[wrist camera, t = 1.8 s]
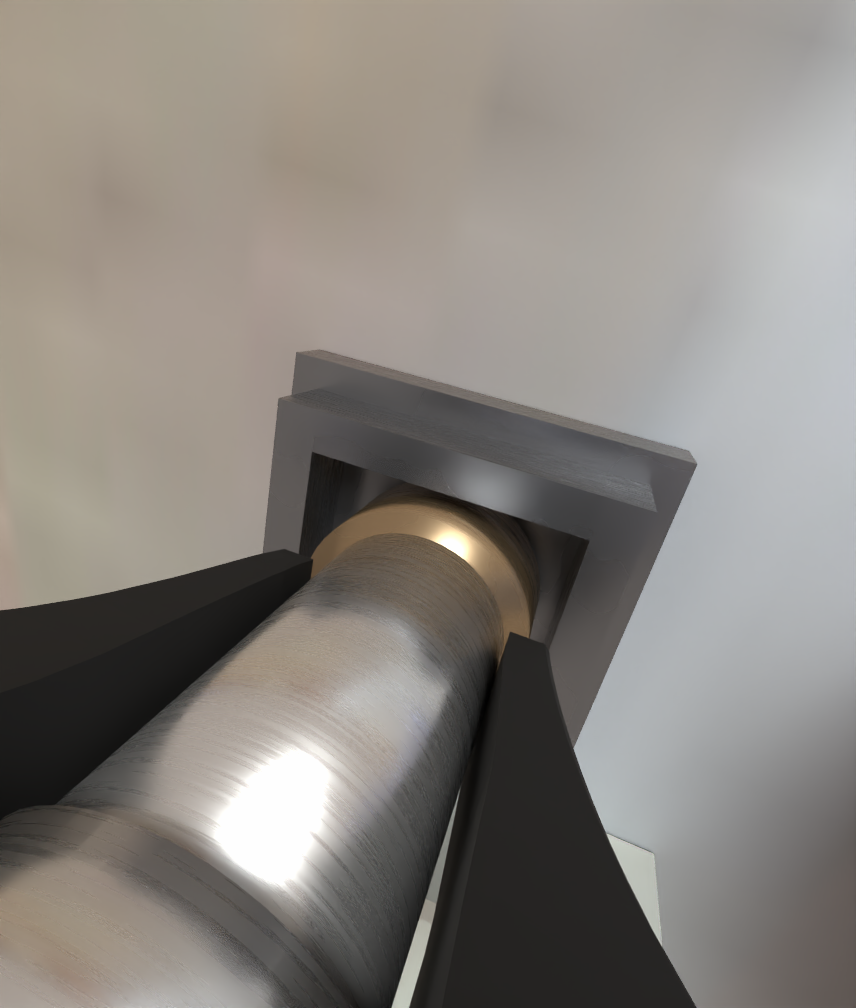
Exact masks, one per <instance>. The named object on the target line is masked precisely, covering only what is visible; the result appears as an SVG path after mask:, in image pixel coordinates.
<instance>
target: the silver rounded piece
mask: <svg viewBox="0 0 856 1008" xmlns="http://www.w3.org/2000/svg"><path fill="white" fill-rule="evenodd" d="M311 559H313V566H312V573H311V579H310V580H309V581H308V582H307V583H306V584H305V585H304V586H303V587H301V588H300V589H299V590H298V591H297V592H296V593H295V594H293V595H292V596H291V597H290V598H289V599H288V600H287V601H286V602H284V603H283V604H282V605H281V606H280V607H279V608H278V609H276V610H275V611H274V612H273V613H272V614H271V615H270V616H268V617H267V618H266V619H265V620H264V621H263V622H262V623H261V624H259V625H258V626H257V627H256V628H255V629H254V630H253V631H251V632H250V633H249V634H248V635H247V636H246V637H245V638H244V639H242V640H241V641H240V642H239V643H238V644H237V645H236V646H234V647H233V648H232V649H231V650H230V651H229V652H228V653H226V654H225V655H224V656H223V657H222V658H221V659H220V660H219V661H217V662H216V663H215V664H214V665H213V666H212V667H211V668H209V669H208V670H207V671H206V672H205V673H204V674H203V675H202V676H200V677H199V678H198V679H197V680H196V681H195V682H194V683H192V684H191V685H190V686H189V687H188V688H187V689H186V690H184V691H183V692H182V693H181V694H180V695H179V696H178V697H177V698H175V699H174V700H173V701H172V702H171V703H170V704H169V705H167V706H166V707H165V708H164V709H163V710H162V711H161V712H160V713H158V714H157V715H156V716H155V717H154V718H153V719H152V720H150V721H149V722H148V723H147V724H146V725H145V726H144V727H142V728H141V729H140V730H139V731H138V732H137V733H136V734H135V735H133V736H132V737H131V738H130V739H129V740H128V741H127V742H125V743H124V744H123V745H122V746H121V747H120V748H119V749H118V750H116V751H115V752H114V753H113V754H112V755H111V756H110V757H108V758H107V759H106V760H105V761H104V762H103V763H102V764H100V765H99V766H98V767H97V768H96V769H95V770H94V771H93V772H91V773H90V774H89V775H88V776H87V777H86V778H85V779H83V780H82V781H81V782H80V783H79V784H78V785H77V786H76V787H74V788H73V789H72V790H71V791H70V792H69V793H68V794H66V795H65V796H64V797H63V798H62V799H61V800H60V801H58V802H57V803H56V804H55V805H39V806H33V807H28V808H24V809H19V810H17V811H15V812H13V813H11V814H9V815H7V816H5V817H4V818H2V819H1V820H0V1008H392V1005H393V1001H394V998H395V995H396V992H397V989H398V985H399V982H400V979H401V976H402V973H403V969H404V966H405V963H406V960H407V957H408V953H409V950H410V947H411V944H412V941H413V937H414V934H415V931H416V928H417V925H418V921H419V918H420V915H421V912H422V909H423V905H424V902H425V899H426V896H427V893H428V889H429V886H430V883H431V880H432V877H433V873H434V870H435V867H436V864H437V861H438V857H439V854H440V851H441V848H442V845H443V841H444V838H445V835H446V832H447V829H448V825H449V822H450V819H451V816H452V813H453V809H454V806H455V803H456V800H457V797H458V793H459V790H460V787H461V784H462V781H463V777H464V774H465V771H466V768H467V765H468V761H469V758H470V755H471V752H472V749H473V745H474V742H475V739H476V736H477V733H478V729H479V726H480V723H481V720H482V717H483V713H484V710H485V707H486V704H487V701H488V697H489V694H490V691H491V688H492V685H493V681H494V678H495V675H496V672H497V669H498V666H499V663H500V660H501V657H502V654H503V651H504V648H505V645H506V642H507V639H508V636H509V633H510V632H513V633H516V634H518V635H521V636H524V637H527V638H529V639H530V635H531V631H532V626H533V622H534V618H535V614H536V610H537V606H538V602H539V594H540V574H539V568H538V563H537V560H536V557H535V554H534V551H533V548H532V546H531V544H530V542H529V540H528V538H527V536H526V535H525V533H524V532H523V530H522V529H521V527H520V526H519V525H518V523H517V522H516V521H515V520H514V519H513V517H512V516H511V515H509V514H505V513H502V512H499V511H496V510H493V509H490V508H487V507H484V506H480V505H477V504H474V503H471V502H468V501H465V500H462V499H458V498H455V497H452V496H449V495H446V494H443V493H440V492H437V491H433V490H430V489H427V488H424V487H421V486H418V485H415V484H412V483H404V484H400V485H397V486H395V487H393V488H391V489H388V490H386V491H385V492H383V493H382V494H380V495H379V496H377V497H376V498H374V499H373V500H372V501H371V502H369V503H368V504H367V505H365V506H364V507H363V508H362V509H360V510H359V511H358V512H356V513H355V514H354V515H353V516H351V517H350V518H349V519H347V520H346V521H345V522H344V523H342V524H341V525H340V526H338V527H337V528H336V529H334V530H333V531H332V532H331V533H330V534H329V535H328V536H326V537H325V538H324V540H323V541H322V542H321V543H320V544H319V546H318V547H317V548H316V550H315V551H314V553H313V555H312V557H311Z"/></svg>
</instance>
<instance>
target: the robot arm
mask: <svg viewBox="0 0 856 1008" xmlns="http://www.w3.org/2000/svg"><path fill="white" fill-rule="evenodd" d="M312 566H313V559H311V558H308V557H305V556H303V555H300V554H297V553H295V552H292V551H289V550H286V549H281V550H276V551H271V552H267V553H263V554H259V555H255V556H251V557H247V558H244V559H240V560H236V561H233V562H229V563H226V564H222V565H218V566H215V567H211V568H207V569H204V570H200V571H196V572H193V573H189V574H185V575H181V576H178V577H174V578H170V579H165V580H161V581H157V582H153V583H148V584H144V585H140V586H136V587H131V588H127V589H123V590H118V591H114V592H110V593H105V594H100V595H95V596H90V597H85V598H79V599H74V600H68V601H62V602H56V603H50V604H43V605H37V606H31V607H24V608H17V609H10V610H1V611H0V820H1V819H2V818H4V817H5V816H7V815H9V814H11V813H13V812H15V811H17V810H19V809H24V808H28V807H33V806H39V805H55V804H56V803H57V802H58V801H60V800H61V799H62V798H63V797H64V796H65V795H66V794H68V793H69V792H70V791H71V790H72V789H73V788H74V787H76V786H77V785H78V784H79V783H80V782H81V781H82V780H83V779H85V778H86V777H87V776H88V775H89V774H90V773H91V772H93V771H94V770H95V769H96V768H97V767H98V766H99V765H100V764H102V763H103V762H104V761H105V760H106V759H107V758H108V757H110V756H111V755H112V754H113V753H114V752H115V751H116V750H118V749H119V748H120V747H121V746H122V745H123V744H124V743H125V742H127V741H128V740H129V739H130V738H131V737H132V736H133V735H135V734H136V733H137V732H138V731H139V730H140V729H141V728H142V727H144V726H145V725H146V724H147V723H148V722H149V721H150V720H152V719H153V718H154V717H155V716H156V715H157V714H158V713H160V712H161V711H162V710H163V709H164V708H165V707H166V706H167V705H169V704H170V703H171V702H172V701H173V700H174V699H175V698H177V697H178V696H179V695H180V694H181V693H182V692H183V691H184V690H186V689H187V688H188V687H189V686H190V685H191V684H192V683H194V682H195V681H196V680H197V679H198V678H199V677H200V676H202V675H203V674H204V673H205V672H206V671H207V670H208V669H209V668H211V667H212V666H213V665H214V664H215V663H216V662H217V661H219V660H220V659H221V658H222V657H223V656H224V655H225V654H226V653H228V652H229V651H230V650H231V649H232V648H233V647H234V646H236V645H237V644H238V643H239V642H240V641H241V640H242V639H244V638H245V637H246V636H247V635H248V634H249V633H250V632H251V631H253V630H254V629H255V628H256V627H257V626H258V625H259V624H261V623H262V622H263V621H264V620H265V619H266V618H267V617H268V616H270V615H271V614H272V613H273V612H274V611H275V610H276V609H278V608H279V607H280V606H281V605H282V604H283V603H284V602H286V601H287V600H288V599H289V598H290V597H291V596H292V595H293V594H295V593H296V592H297V591H298V590H299V589H300V588H301V587H303V586H304V585H305V584H306V583H307V582H308V581H309V580H310V579H311V573H312ZM409 1008H696V1006H695V1004H694V1002H693V1001H692V999H691V997H690V995H689V994H688V992H687V990H686V988H685V986H684V985H683V983H682V981H681V979H680V978H679V976H678V974H677V972H676V971H675V969H674V967H673V965H672V964H671V962H670V960H669V958H668V956H667V955H666V953H665V951H664V949H663V948H662V946H661V944H660V942H659V941H658V939H657V937H656V935H655V933H654V931H653V930H652V928H651V926H650V924H649V922H648V920H647V918H646V916H645V914H644V912H643V910H642V908H641V906H640V904H639V902H638V900H637V898H636V896H635V894H634V892H633V890H632V888H631V886H630V884H629V882H628V880H627V878H626V876H625V874H624V872H623V869H622V867H621V865H620V863H619V861H618V859H617V857H616V854H615V852H614V850H613V848H612V846H611V844H610V841H609V839H608V837H607V835H606V832H605V830H604V828H603V825H602V823H601V821H600V818H599V816H598V813H597V811H596V808H595V806H594V804H593V801H592V798H591V796H590V793H589V791H588V788H587V785H586V783H585V780H584V777H583V775H582V772H581V769H580V766H579V764H578V761H577V758H576V755H575V752H574V749H573V746H572V743H571V739H570V736H569V733H568V730H567V727H566V723H565V720H564V717H563V713H562V710H561V706H560V703H559V699H558V694H557V690H556V686H555V682H554V677H553V672H552V667H551V661H550V653H549V651H548V649H547V647H546V645H545V644H543V643H540V642H538V641H535V640H532V639H529V638H527V637H524V636H521V635H518V634H516V633H513V632H510V633H509V636H508V639H507V642H506V645H505V648H504V651H503V654H502V657H501V660H500V663H499V666H498V669H497V672H496V675H495V678H494V681H493V685H492V688H491V691H490V694H489V697H488V701H487V704H486V707H485V710H484V713H483V717H482V720H481V723H480V726H479V729H478V733H477V736H476V739H475V742H474V745H473V749H472V752H471V755H470V758H469V761H468V765H467V768H466V771H465V774H464V777H463V781H462V784H461V788H460V793H459V797H458V802H457V807H456V812H455V817H454V821H453V826H452V831H451V836H450V841H449V845H448V850H447V855H446V860H445V865H444V869H443V874H442V879H441V884H440V889H439V894H438V898H437V903H436V908H435V913H434V918H433V922H432V926H431V930H430V934H429V938H428V942H427V946H426V950H425V954H424V958H423V961H422V965H421V968H420V972H419V975H418V978H417V982H416V985H415V989H414V992H413V996H412V999H411V1002H410V1006H409Z"/></svg>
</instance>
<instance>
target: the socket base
mask: <svg viewBox="0 0 856 1008" xmlns="http://www.w3.org/2000/svg"><path fill="white" fill-rule="evenodd" d="M696 466H697V463H696V461H695V460H694V458H693V456H692V455H691V453H690V452H689V451H687V450H683V449H679V448H676V447H672V446H669V445H665V444H661V443H658V442H654V441H650V440H647V439H643V438H639V437H636V436H632V435H628V434H625V433H621V432H618V431H614V430H610V429H607V428H603V427H599V426H596V425H592V424H588V423H585V422H581V421H578V420H574V419H570V418H567V417H563V416H559V415H556V414H552V413H548V412H545V411H541V410H537V409H534V408H530V407H527V406H523V405H519V404H516V403H512V402H508V401H505V400H501V399H497V398H494V397H490V396H486V395H483V394H479V393H476V392H472V391H468V390H465V389H461V388H457V387H454V386H450V385H446V384H443V383H439V382H436V381H432V380H428V379H425V378H421V377H417V376H414V375H410V374H406V373H403V372H399V371H395V370H392V369H388V368H385V367H381V366H377V365H374V364H370V363H366V362H363V361H359V360H355V359H352V358H348V357H345V356H341V355H337V354H334V353H330V352H326V351H323V350H313V351H304V352H296V361H295V370H294V379H293V388H292V395H290V396H286V397H282V398H279V401H278V410H277V420H276V430H275V439H274V449H273V459H272V469H271V478H270V488H269V498H268V508H267V517H266V527H265V537H264V546H263V553H267V552H271V551H276V550H281V549H286V550H289V551H292V552H295V553H297V554H300V555H303V556H305V557H308V558H311V557H312V555H313V553H314V551H315V550H316V548H317V547H318V546H319V544H320V543H321V542H322V541H323V540H324V538H325V537H326V536H328V535H329V534H330V533H331V532H332V531H333V530H334V529H336V528H337V527H338V526H340V525H341V524H342V523H344V522H345V521H346V520H347V519H349V518H350V517H351V516H353V515H354V514H355V513H356V512H358V511H359V510H360V509H362V508H363V507H364V506H365V505H367V504H368V503H369V502H371V501H372V500H373V499H374V498H376V497H377V496H379V495H380V494H382V493H383V492H385V491H386V490H388V489H391V488H393V487H395V486H397V485H400V484H404V483H412V484H415V485H418V486H421V487H424V488H427V489H430V490H433V491H437V492H440V493H443V494H446V495H449V496H452V497H455V498H458V499H462V500H465V501H468V502H471V503H474V504H477V505H480V506H484V507H487V508H490V509H493V510H496V511H499V512H502V513H505V514H509V515H511V516H512V517H513V519H514V520H515V521H516V522H517V523H518V525H519V526H520V527H521V529H522V530H523V532H524V533H525V535H526V536H527V538H528V540H529V542H530V544H531V546H532V548H533V551H534V554H535V557H536V560H537V563H538V568H539V574H540V594H539V602H538V606H537V610H536V614H535V618H534V622H533V626H532V631H531V635H530V639H532V640H535V641H538V642H540V643H543V644H545V645H546V647H547V649H548V651H549V653H550V661H551V667H552V672H553V677H554V682H555V686H556V690H557V694H558V699H559V703H560V706H561V710H562V713H563V717H564V720H565V723H566V727H567V730H568V733H569V736H570V739H571V743H572V746H573V748H574V746H575V743H576V741H577V739H578V736H579V734H580V732H581V730H582V727H583V725H584V723H585V720H586V718H587V716H588V714H589V711H590V709H591V707H592V704H593V702H594V700H595V698H596V695H597V693H598V691H599V688H600V686H601V684H602V681H603V679H604V677H605V675H606V672H607V670H608V668H609V665H610V663H611V661H612V659H613V656H614V654H615V652H616V649H617V647H618V645H619V642H620V640H621V638H622V636H623V633H624V631H625V629H626V626H627V624H628V622H629V620H630V617H631V615H632V613H633V610H634V608H635V606H636V604H637V601H638V599H639V597H640V594H641V592H642V590H643V587H644V585H645V583H646V581H647V578H648V576H649V574H650V571H651V569H652V567H653V565H654V562H655V560H656V558H657V555H658V553H659V551H660V548H661V546H662V544H663V542H664V539H665V537H666V535H667V532H668V530H669V528H670V526H671V523H672V521H673V519H674V516H675V514H676V512H677V510H678V507H679V505H680V503H681V500H682V498H683V496H684V493H685V491H686V489H687V487H688V484H689V482H690V480H691V477H692V475H693V473H694V471H695V468H696Z"/></svg>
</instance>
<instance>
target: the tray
mask: <svg viewBox="0 0 856 1008" xmlns="http://www.w3.org/2000/svg"><path fill="white" fill-rule="evenodd" d="M460 788H461V787H460ZM459 793H460V790H459ZM459 793H458V797H459ZM458 797H457V800H456V803H455V806H454V809H453V813H452V816H451V819H450V822H449V825H448V829H447V832H446V835H445V838H444V841H443V845H442V848H441V851H440V854H439V857H438V861H437V864H436V867H435V870H434V873H433V877H432V880H431V883H430V886H429V889H428V893H427V896H426V899H425V902H424V905H423V909H422V912H421V915H420V918H419V921H418V925H417V928H416V931H415V934H414V937H413V941H412V944H411V947H410V950H409V953H408V957H407V960H406V963H405V966H404V969H403V973H402V976H401V979H400V982H399V985H398V989H397V992H396V995H395V998H394V1001H393V1005H392V1008H409V1006H410V1002H411V999H412V996H413V992H414V989H415V985H416V982H417V978H418V975H419V972H420V968H421V965H422V961H423V958H424V954H425V950H426V946H427V942H428V938H429V934H430V930H431V926H432V922H433V918H434V913H435V908H436V903H437V898H438V894H439V889H440V884H441V879H442V874H443V869H444V865H445V860H446V855H447V850H448V845H449V841H450V836H451V831H452V826H453V821H454V817H455V812H456V807H457V802H458ZM606 835H607V837H608V839H609V841H610V844H611V846H612V848H613V850H614V852H615V854H616V857H617V859H618V861H619V863H620V865H621V867H622V869H623V872H624V874H625V876H626V878H627V880H628V882H629V884H630V886H631V888H632V890H633V892H634V894H635V896H636V898H637V900H638V902H639V904H640V906H641V908H642V910H643V912H644V914H645V916H646V918H647V920H648V922H649V924H650V926H651V928H652V930H653V931H654V933H655V935H656V937H657V939H658V941H659V942H660V944H661V946H662V936H661V925H660V914H659V903H658V892H657V882H656V871H655V860H654V854H653V853H651V852H649V851H646V850H644V849H642V848H639V847H637V846H635V845H632V844H630V843H628V842H625V841H623V840H621V839H618V838H616V837H614V836H611V835H609V834H607V833H606ZM662 948H663V947H662Z"/></svg>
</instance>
